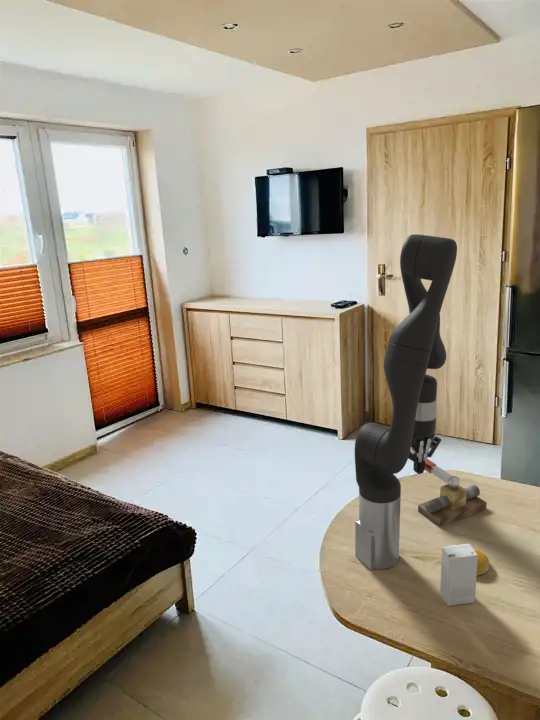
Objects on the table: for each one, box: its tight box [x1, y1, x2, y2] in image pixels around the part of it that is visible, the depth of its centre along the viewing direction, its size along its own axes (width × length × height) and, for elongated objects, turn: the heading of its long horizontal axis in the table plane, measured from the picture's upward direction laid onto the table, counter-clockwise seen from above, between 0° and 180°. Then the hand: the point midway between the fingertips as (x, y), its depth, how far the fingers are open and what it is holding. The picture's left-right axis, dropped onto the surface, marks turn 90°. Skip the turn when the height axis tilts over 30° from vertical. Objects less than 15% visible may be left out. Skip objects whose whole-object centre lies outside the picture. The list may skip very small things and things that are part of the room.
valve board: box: [417, 483, 488, 528], centre depth 147 cm, size 16×8×7 cm, turn 116°
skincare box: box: [439, 543, 478, 607], centre depth 116 cm, size 6×4×12 cm
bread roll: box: [456, 543, 490, 576], centre depth 128 cm, size 8×9×4 cm
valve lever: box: [424, 458, 461, 489], centre depth 150 cm, size 13×3×2 cm, turn 24°
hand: (419, 472), depth 154 cm, fingers closed
